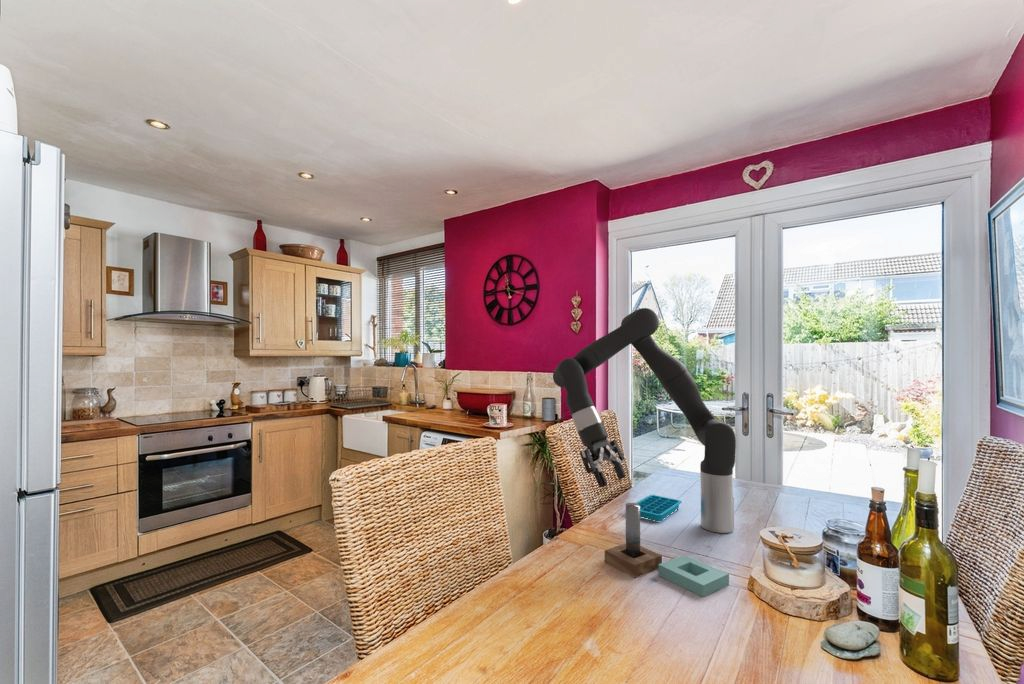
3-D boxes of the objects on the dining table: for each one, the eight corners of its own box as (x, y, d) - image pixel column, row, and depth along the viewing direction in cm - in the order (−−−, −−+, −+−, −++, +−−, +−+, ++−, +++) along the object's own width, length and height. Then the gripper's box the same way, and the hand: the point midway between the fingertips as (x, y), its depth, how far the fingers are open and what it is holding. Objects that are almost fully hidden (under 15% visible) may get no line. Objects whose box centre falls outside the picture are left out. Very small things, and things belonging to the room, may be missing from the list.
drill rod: (632, 560, 116) (632, 501, 116) (643, 565, 113) (643, 505, 113) (622, 563, 114) (622, 504, 114) (633, 569, 111) (633, 508, 111)
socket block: (631, 553, 120) (631, 541, 120) (662, 567, 112) (662, 555, 112) (604, 562, 114) (604, 550, 115) (635, 577, 106) (635, 565, 106)
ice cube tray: (627, 516, 149) (627, 507, 149) (651, 502, 165) (651, 494, 165) (661, 525, 142) (661, 515, 142) (682, 509, 157) (682, 500, 157)
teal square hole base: (683, 564, 113) (683, 554, 114) (729, 584, 103) (728, 573, 104) (658, 574, 108) (658, 564, 108) (703, 596, 98) (703, 585, 98)
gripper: (595, 426, 133) (618, 479, 128) (564, 434, 123) (587, 492, 118) (614, 417, 128) (638, 472, 123) (582, 425, 118) (607, 485, 113)
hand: (613, 482), depth 120 cm, fingers open, 8 cm apart
